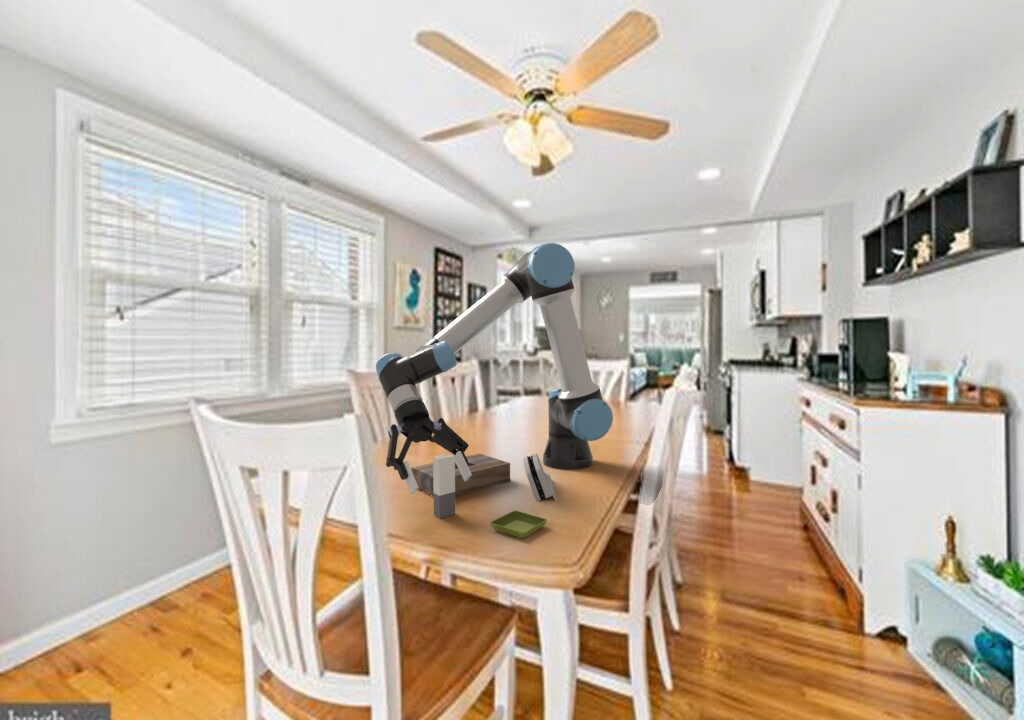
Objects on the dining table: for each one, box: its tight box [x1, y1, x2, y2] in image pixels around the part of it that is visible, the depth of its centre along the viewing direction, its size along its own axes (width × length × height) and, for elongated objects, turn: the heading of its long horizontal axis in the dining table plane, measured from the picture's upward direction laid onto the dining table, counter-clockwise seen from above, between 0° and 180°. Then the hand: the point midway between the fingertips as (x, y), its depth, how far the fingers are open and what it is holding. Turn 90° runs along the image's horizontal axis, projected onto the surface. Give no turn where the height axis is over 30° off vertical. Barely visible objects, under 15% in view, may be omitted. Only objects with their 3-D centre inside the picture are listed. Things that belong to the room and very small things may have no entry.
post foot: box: [410, 453, 511, 497], centre depth 127 cm, size 14×22×5 cm, turn 130°
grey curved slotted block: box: [522, 452, 558, 502], centre depth 122 cm, size 17×5×10 cm, turn 0°
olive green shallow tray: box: [489, 510, 548, 539], centre depth 97 cm, size 9×9×2 cm
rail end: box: [432, 453, 456, 519], centre depth 105 cm, size 2×4×13 cm, turn 130°
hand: (442, 484), depth 105 cm, fingers open, 13 cm apart
